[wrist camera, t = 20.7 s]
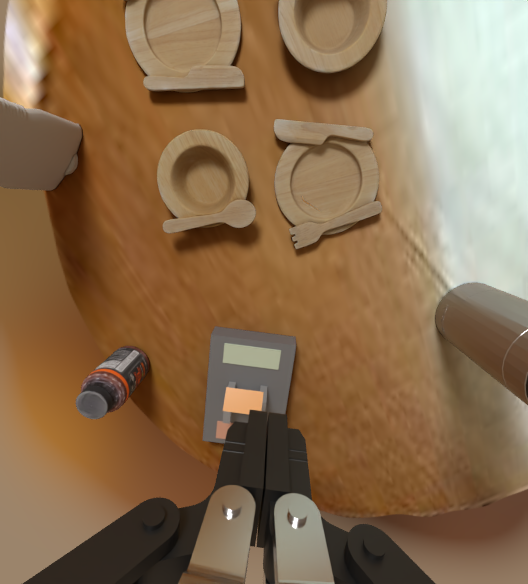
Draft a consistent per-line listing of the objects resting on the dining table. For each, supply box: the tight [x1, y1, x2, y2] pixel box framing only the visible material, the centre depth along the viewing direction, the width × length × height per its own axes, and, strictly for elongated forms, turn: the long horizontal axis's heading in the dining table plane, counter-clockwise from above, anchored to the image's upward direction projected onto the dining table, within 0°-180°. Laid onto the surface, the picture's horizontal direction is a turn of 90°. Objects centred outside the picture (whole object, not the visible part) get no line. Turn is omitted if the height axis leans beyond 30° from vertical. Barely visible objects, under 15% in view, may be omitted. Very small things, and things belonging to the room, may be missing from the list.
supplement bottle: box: [76, 346, 149, 419], centre depth 44 cm, size 6×6×11 cm
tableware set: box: [125, 0, 387, 249], centre depth 38 cm, size 35×29×4 cm
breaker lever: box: [223, 387, 264, 414], centre depth 40 cm, size 4×2×14 cm
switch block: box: [203, 327, 296, 443], centre depth 46 cm, size 12×18×7 cm, turn 173°
